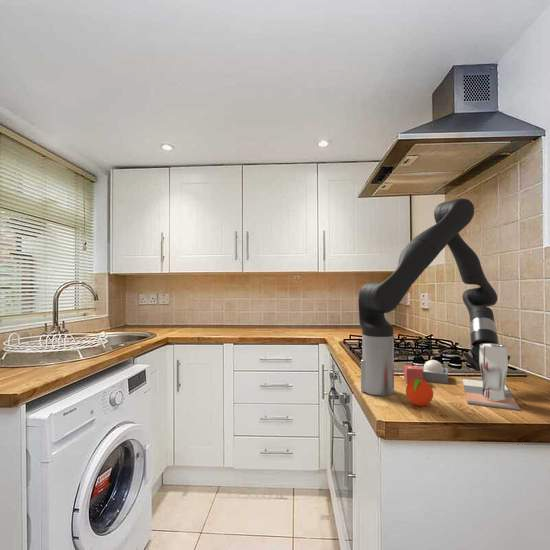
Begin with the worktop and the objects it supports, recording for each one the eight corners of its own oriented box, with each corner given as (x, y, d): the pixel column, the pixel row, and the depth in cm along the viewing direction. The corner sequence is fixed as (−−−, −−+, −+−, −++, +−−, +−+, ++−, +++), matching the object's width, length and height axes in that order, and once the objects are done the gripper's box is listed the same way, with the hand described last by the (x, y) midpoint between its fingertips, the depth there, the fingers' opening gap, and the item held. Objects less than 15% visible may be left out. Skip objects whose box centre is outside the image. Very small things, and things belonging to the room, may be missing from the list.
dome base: (418, 380, 120) (418, 371, 120) (420, 374, 128) (420, 365, 128) (448, 383, 116) (448, 374, 116) (447, 376, 124) (447, 368, 124)
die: (406, 384, 115) (406, 368, 115) (404, 379, 120) (403, 364, 120) (423, 384, 114) (422, 369, 114) (419, 380, 119) (419, 365, 119)
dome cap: (423, 379, 120) (422, 361, 120) (423, 375, 126) (423, 357, 126) (443, 382, 118) (443, 362, 118) (443, 377, 123) (443, 359, 123)
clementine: (428, 412, 90) (428, 384, 90) (401, 407, 94) (401, 380, 94) (436, 404, 96) (435, 378, 96) (410, 399, 100) (409, 374, 101)
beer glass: (481, 400, 98) (481, 346, 98) (477, 393, 104) (476, 342, 105) (511, 403, 95) (510, 348, 96) (505, 396, 102) (504, 344, 102)
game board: (467, 403, 96) (467, 402, 96) (462, 378, 122) (462, 377, 122) (520, 410, 91) (520, 409, 91) (503, 382, 116) (503, 381, 116)
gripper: (460, 326, 114) (463, 373, 103) (509, 329, 109) (517, 379, 98) (460, 340, 119) (462, 387, 108) (506, 343, 114) (514, 392, 102)
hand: (488, 383), depth 103 cm, fingers closed
